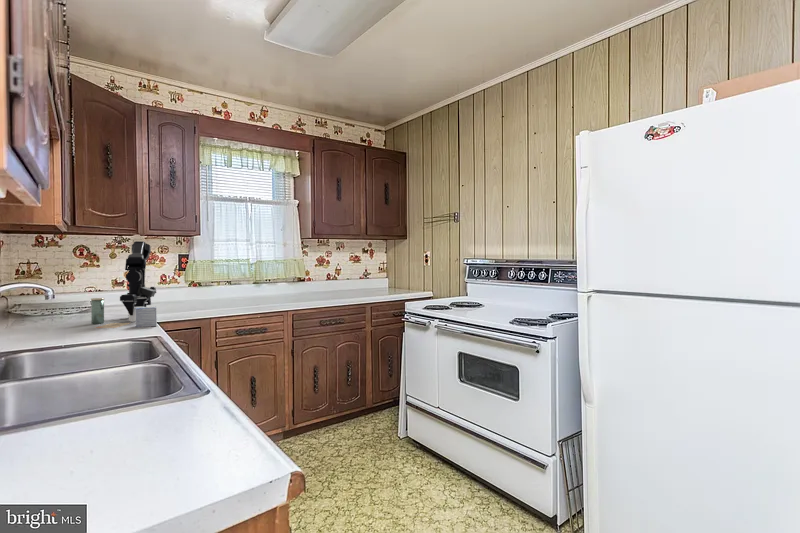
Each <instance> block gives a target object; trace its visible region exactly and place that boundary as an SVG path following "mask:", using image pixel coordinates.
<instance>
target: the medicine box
mask: <svg viewBox="0 0 800 533" xmlns="http://www.w3.org/2000/svg"><path fill="white" fill-rule="evenodd" d="M157 312H158V310H157V306H146V307H137V308H136V321H135V328H140V327H141V328H142V326H144V327H151V326H152V327H157V325H158V324H157V323H158V322H157V320H158V318H157V317H158V316H157Z"/></svg>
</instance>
